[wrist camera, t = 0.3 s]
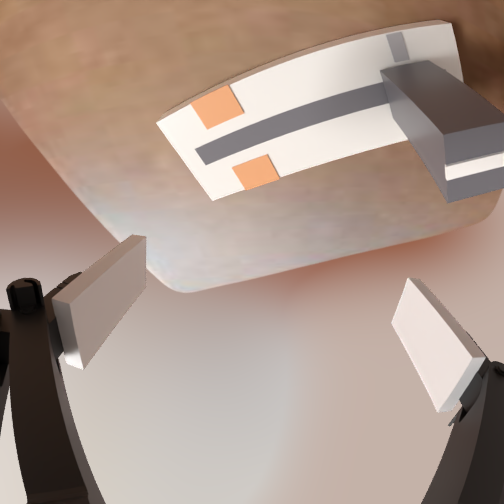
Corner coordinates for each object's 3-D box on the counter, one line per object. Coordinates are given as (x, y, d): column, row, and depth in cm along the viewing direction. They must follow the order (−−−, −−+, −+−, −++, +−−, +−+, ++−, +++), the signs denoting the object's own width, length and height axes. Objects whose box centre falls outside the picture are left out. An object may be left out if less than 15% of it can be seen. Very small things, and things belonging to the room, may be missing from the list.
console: (216, 188, 29) (212, 202, 28) (163, 112, 23) (154, 122, 22) (458, 116, 20) (468, 127, 19) (438, 18, 14) (451, 22, 13)
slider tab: (392, 118, 19) (447, 205, 13) (378, 70, 17) (443, 136, 10) (438, 107, 18) (509, 188, 11) (429, 60, 15) (513, 122, 8)
